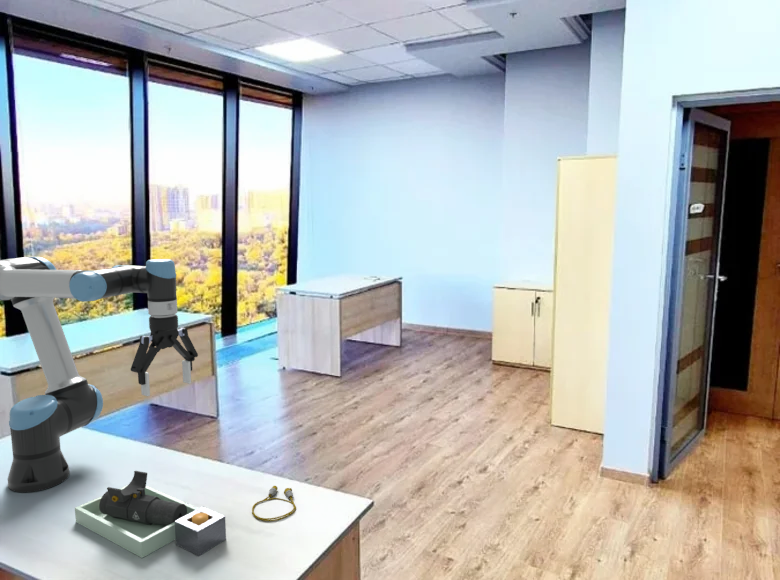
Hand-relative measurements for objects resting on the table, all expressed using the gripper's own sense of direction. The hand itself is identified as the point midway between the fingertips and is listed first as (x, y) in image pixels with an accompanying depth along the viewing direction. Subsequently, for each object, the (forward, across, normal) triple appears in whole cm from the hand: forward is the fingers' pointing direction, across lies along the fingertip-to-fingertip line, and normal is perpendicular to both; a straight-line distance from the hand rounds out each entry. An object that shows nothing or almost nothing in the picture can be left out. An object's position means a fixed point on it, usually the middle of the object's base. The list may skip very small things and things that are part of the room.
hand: (167, 388), depth 168 cm
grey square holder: (+27, -17, -34) cm, 46 cm away
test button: (+25, -17, -34) cm, 45 cm away
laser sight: (+26, -20, -15) cm, 36 cm away
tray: (+27, -20, -14) cm, 36 cm away
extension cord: (+27, +5, -36) cm, 46 cm away
